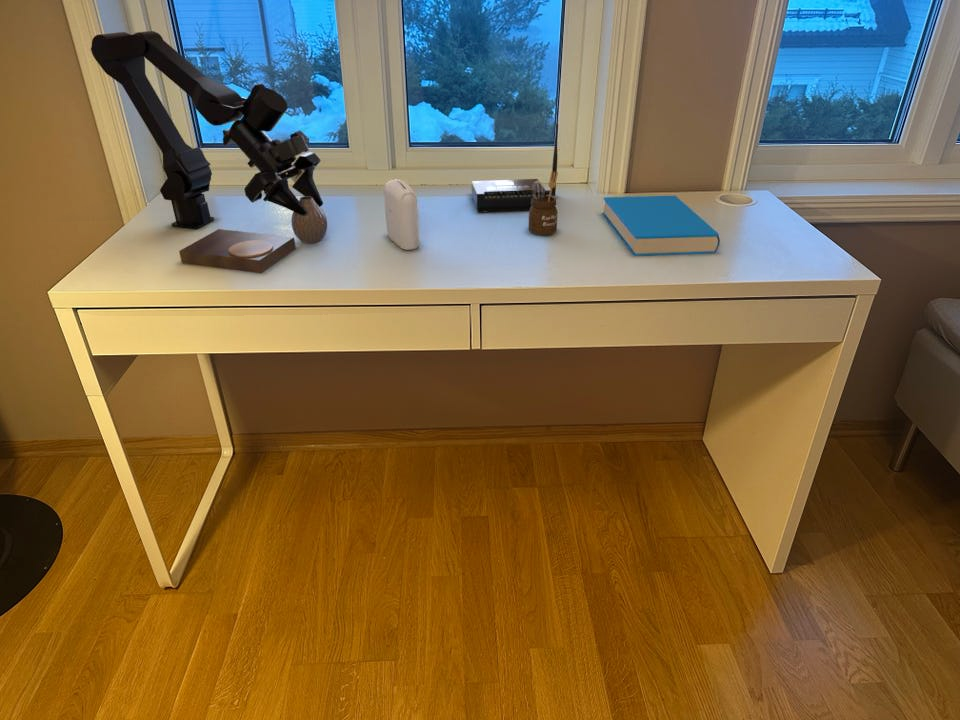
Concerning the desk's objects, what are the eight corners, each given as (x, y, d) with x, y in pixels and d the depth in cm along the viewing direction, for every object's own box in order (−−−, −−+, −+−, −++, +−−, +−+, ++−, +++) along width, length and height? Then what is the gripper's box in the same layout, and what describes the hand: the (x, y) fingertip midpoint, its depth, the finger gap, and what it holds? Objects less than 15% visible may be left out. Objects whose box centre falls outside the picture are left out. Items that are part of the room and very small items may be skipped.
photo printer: (384, 235, 140) (380, 176, 134) (404, 232, 142) (400, 173, 136) (401, 252, 132) (397, 189, 126) (422, 248, 134) (419, 187, 128)
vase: (320, 247, 134) (315, 204, 130) (288, 244, 135) (282, 201, 131) (333, 235, 140) (329, 193, 135) (302, 232, 141) (297, 191, 137)
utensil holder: (522, 231, 142) (524, 174, 136) (541, 224, 146) (543, 168, 140) (544, 238, 139) (547, 180, 133) (562, 230, 143) (566, 174, 137)
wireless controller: (478, 213, 153) (477, 135, 144) (470, 194, 165) (470, 121, 156) (564, 209, 155) (569, 132, 146) (551, 191, 167) (555, 119, 158)
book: (636, 236, 129) (602, 195, 150) (633, 258, 131) (600, 214, 152) (723, 233, 130) (677, 193, 151) (718, 254, 132) (674, 212, 153)
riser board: (181, 263, 127) (178, 249, 126) (221, 240, 138) (218, 227, 136) (261, 273, 123) (258, 259, 122) (295, 249, 134) (293, 235, 132)
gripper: (247, 129, 119) (308, 198, 122) (306, 110, 134) (360, 172, 137) (219, 169, 126) (277, 233, 128) (279, 147, 141) (330, 205, 143)
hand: (313, 209), depth 134 cm, fingers closed on vase, 5 cm apart
